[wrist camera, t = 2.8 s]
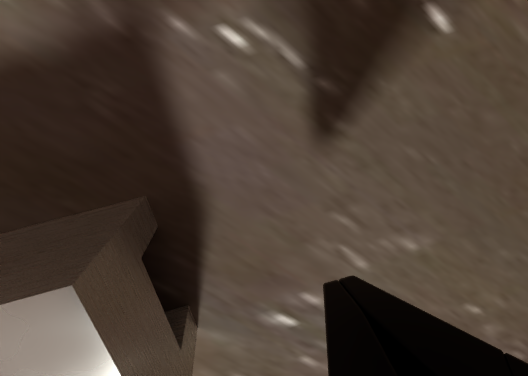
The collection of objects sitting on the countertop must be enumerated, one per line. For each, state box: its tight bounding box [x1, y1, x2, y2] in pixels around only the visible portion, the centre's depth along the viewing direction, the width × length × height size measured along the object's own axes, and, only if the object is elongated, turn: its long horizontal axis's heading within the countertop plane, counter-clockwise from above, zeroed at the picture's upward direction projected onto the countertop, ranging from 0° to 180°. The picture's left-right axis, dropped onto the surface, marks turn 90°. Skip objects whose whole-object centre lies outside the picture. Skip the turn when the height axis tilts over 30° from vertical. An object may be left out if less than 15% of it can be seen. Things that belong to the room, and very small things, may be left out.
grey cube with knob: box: [0, 196, 197, 376], centre depth 8 cm, size 7×7×5 cm
